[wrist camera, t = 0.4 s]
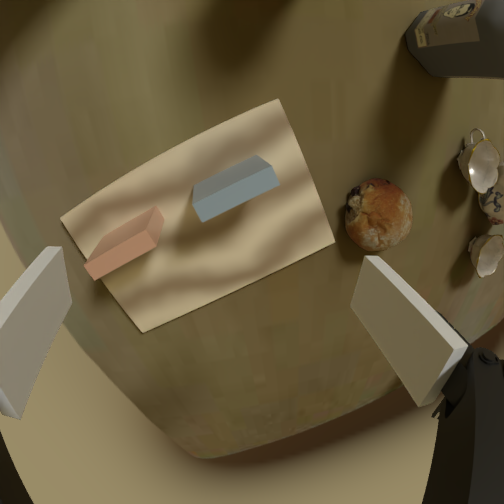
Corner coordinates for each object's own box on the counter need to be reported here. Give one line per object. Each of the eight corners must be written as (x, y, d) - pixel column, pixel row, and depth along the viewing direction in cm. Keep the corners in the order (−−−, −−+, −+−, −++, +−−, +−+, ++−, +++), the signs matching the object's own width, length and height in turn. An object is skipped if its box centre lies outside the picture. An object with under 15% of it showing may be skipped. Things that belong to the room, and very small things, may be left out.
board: (63, 215, 35) (60, 218, 34) (275, 99, 33) (278, 98, 32) (143, 327, 44) (142, 333, 43) (331, 238, 42) (335, 242, 41)
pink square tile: (103, 235, 36) (83, 265, 29) (156, 205, 35) (145, 229, 28) (112, 250, 37) (95, 282, 30) (165, 221, 36) (158, 248, 29)
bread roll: (344, 238, 47) (374, 275, 42) (326, 199, 39) (363, 240, 34) (392, 202, 46) (425, 235, 41) (383, 157, 38) (424, 192, 33)
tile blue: (193, 185, 35) (192, 204, 28) (256, 154, 35) (271, 165, 28) (202, 201, 36) (203, 225, 29) (264, 171, 36) (281, 187, 29)
